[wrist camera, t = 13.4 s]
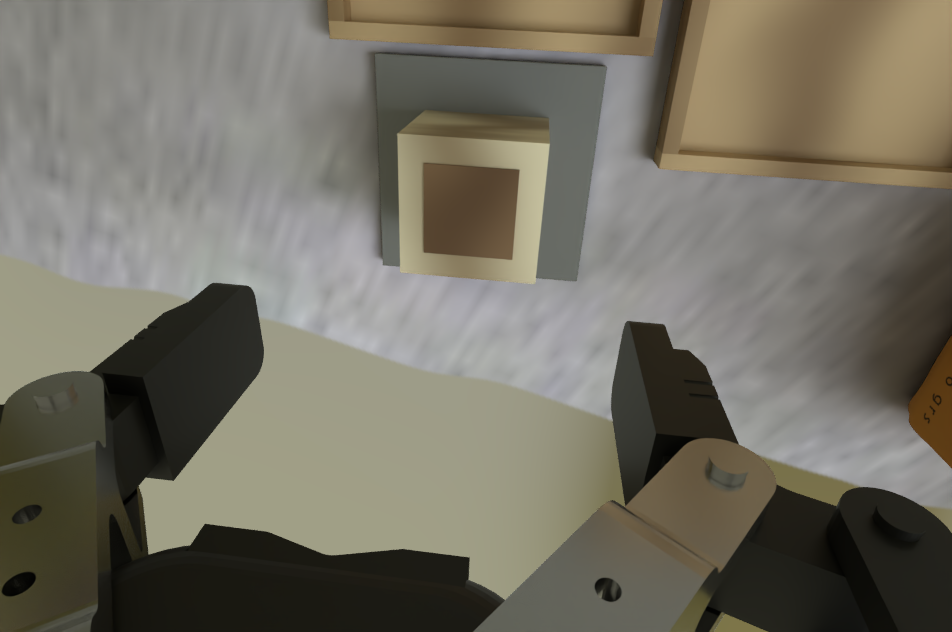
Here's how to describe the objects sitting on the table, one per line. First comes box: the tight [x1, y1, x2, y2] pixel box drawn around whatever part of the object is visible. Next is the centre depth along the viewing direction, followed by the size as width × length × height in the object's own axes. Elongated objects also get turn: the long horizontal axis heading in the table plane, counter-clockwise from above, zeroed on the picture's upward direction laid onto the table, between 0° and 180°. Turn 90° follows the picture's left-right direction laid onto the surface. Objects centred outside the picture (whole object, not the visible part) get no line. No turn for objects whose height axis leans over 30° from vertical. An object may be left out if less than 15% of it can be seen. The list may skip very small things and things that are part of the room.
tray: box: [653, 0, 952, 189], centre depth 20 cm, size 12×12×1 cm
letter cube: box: [397, 110, 550, 284], centre depth 22 cm, size 5×5×5 cm
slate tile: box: [375, 53, 607, 281], centre depth 24 cm, size 9×9×1 cm
